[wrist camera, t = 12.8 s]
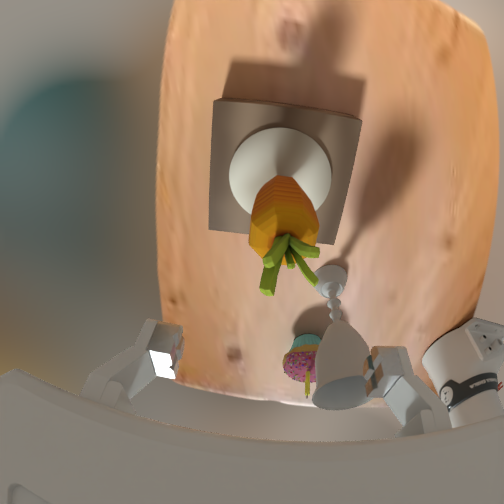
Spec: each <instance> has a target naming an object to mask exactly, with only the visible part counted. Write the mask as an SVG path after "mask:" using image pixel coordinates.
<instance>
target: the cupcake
mask: <svg viewBox="0 0 504 504" xmlns="http://www.w3.org/2000/svg"><path fill="white" fill-rule="evenodd" d="M320 342H321V339H320V338H319V337H318V336H316V335H313V334H304V335H301V336H299V337H297V338H296V339H295V340H294V342H293V345H292V348H291V349H290V351H289V352H288V353H287V354H285V356H284V359H283V368H284V371H285V372H284V373H286V374H287V375H288V376H289V377H291V378H292V379H294V380H296V381H300V382H305V395H306V399H307V398H308V395H309V394H310V382H311V383H312V382H316V370H315V358H316V354H317V350H318V347H319V344H320Z"/></svg>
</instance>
